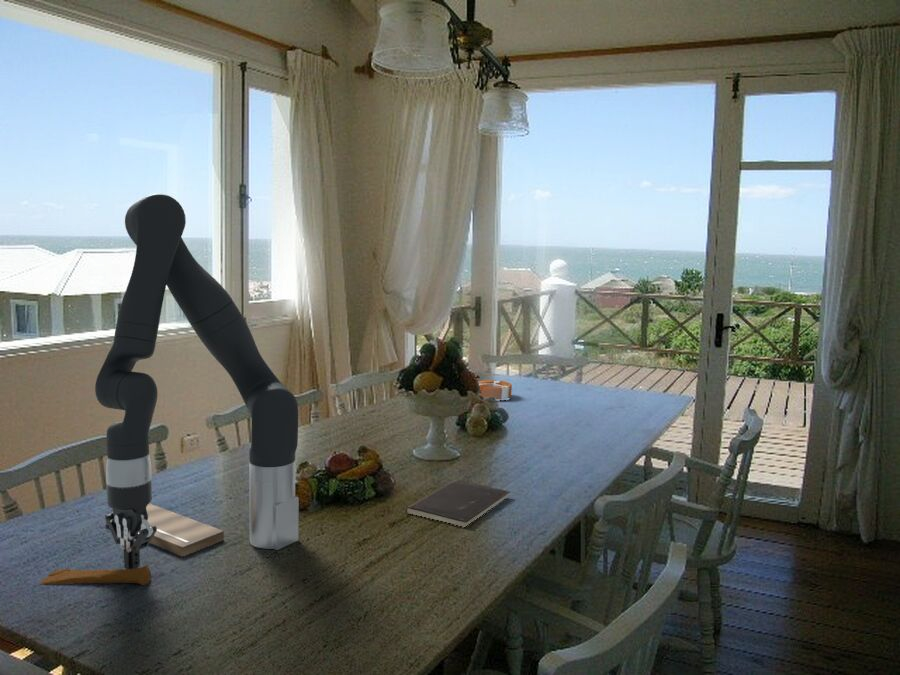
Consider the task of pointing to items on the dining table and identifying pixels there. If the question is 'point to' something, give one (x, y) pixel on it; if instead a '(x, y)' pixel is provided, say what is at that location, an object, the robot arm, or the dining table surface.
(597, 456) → the dining table surface
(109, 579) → the primitive tool
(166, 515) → the pale wooden board
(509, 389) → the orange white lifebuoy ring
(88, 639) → the dining table surface
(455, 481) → the hardcover book
